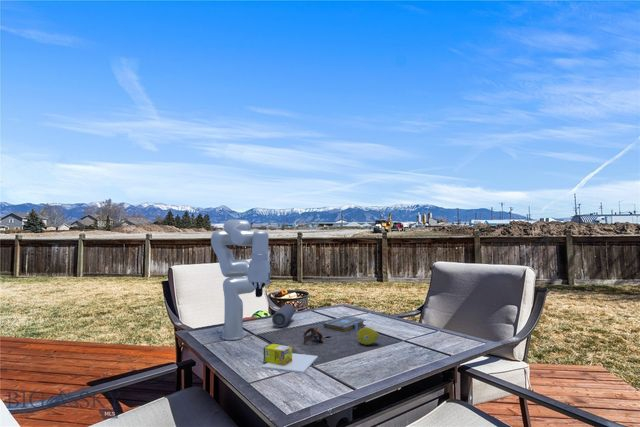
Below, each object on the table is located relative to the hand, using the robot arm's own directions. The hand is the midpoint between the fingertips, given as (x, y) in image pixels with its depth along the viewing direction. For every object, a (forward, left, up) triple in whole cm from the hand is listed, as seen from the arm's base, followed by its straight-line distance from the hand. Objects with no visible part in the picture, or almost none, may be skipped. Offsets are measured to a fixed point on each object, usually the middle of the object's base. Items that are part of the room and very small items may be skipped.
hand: (258, 296), depth 163 cm
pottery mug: (+20, +21, -25) cm, 39 cm away
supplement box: (+9, -10, -22) cm, 25 cm away
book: (+29, +51, -26) cm, 64 cm away
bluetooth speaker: (-8, +48, -25) cm, 55 cm away
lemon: (+47, +24, -25) cm, 58 cm away
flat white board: (+20, -9, -25) cm, 33 cm away
